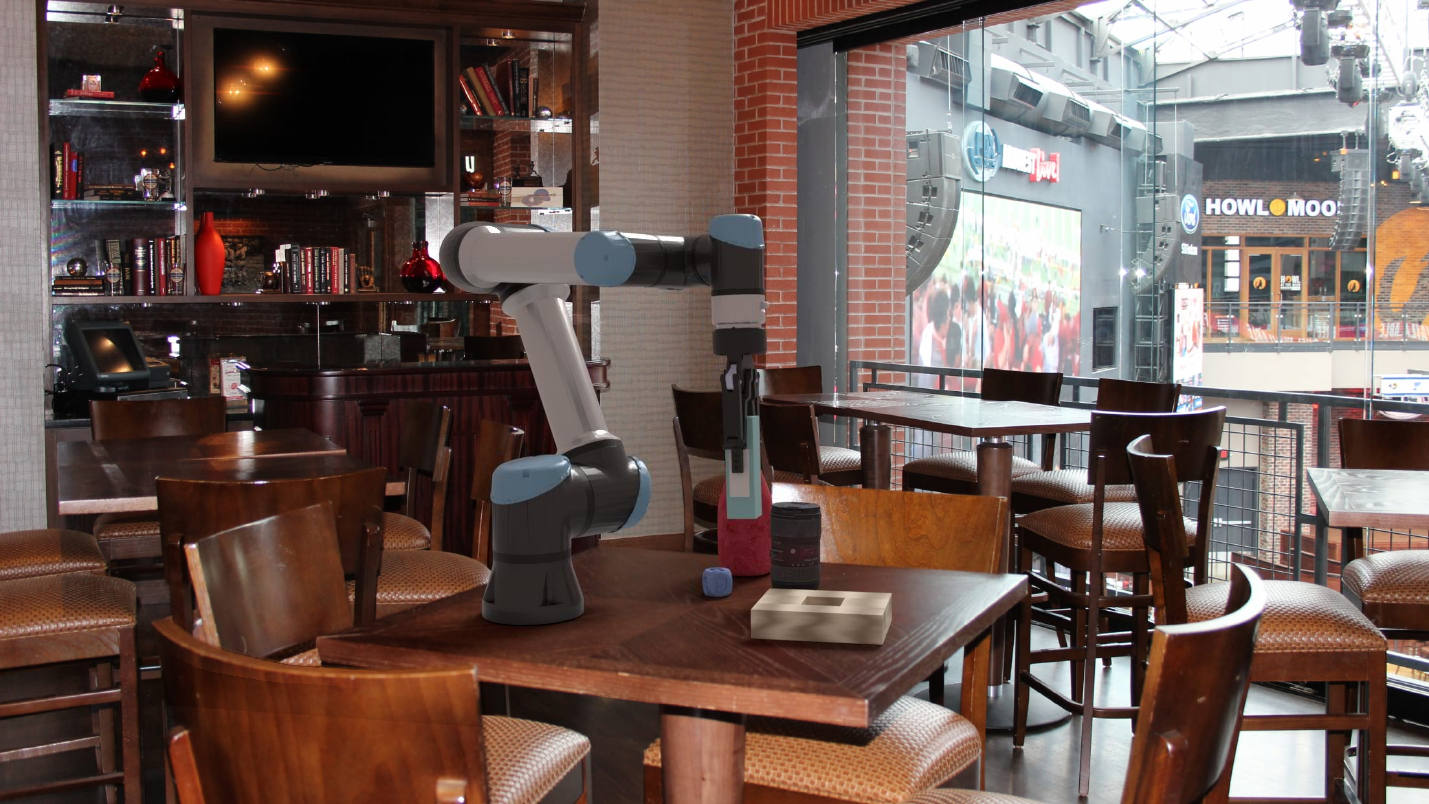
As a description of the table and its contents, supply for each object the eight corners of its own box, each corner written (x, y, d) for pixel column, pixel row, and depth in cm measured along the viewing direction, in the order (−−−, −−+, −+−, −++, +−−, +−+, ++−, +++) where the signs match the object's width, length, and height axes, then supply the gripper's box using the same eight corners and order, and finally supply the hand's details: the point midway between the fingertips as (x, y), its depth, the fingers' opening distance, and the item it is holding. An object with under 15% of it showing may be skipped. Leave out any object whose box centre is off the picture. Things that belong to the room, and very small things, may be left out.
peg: (727, 518, 170) (724, 417, 170) (734, 514, 174) (731, 416, 173) (755, 518, 169) (752, 417, 168) (761, 514, 173) (758, 415, 172)
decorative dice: (726, 591, 200) (726, 566, 200) (732, 596, 196) (732, 571, 196) (702, 592, 199) (702, 568, 199) (708, 597, 195) (708, 572, 195)
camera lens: (818, 605, 189) (818, 508, 188) (766, 603, 190) (766, 507, 189) (824, 593, 197) (824, 501, 196) (774, 592, 198) (774, 500, 197)
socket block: (751, 638, 169) (750, 609, 168) (769, 615, 182) (769, 588, 182) (882, 644, 165) (882, 615, 164) (891, 620, 178) (891, 593, 178)
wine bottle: (719, 567, 220) (717, 399, 218) (773, 567, 219) (772, 399, 218) (716, 578, 210) (715, 403, 208) (774, 578, 210) (773, 402, 208)
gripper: (751, 325, 161) (756, 502, 162) (778, 326, 178) (783, 487, 179) (696, 327, 163) (701, 502, 164) (728, 328, 180) (733, 487, 181)
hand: (744, 494), depth 171 cm, fingers closed on peg, 4 cm apart
